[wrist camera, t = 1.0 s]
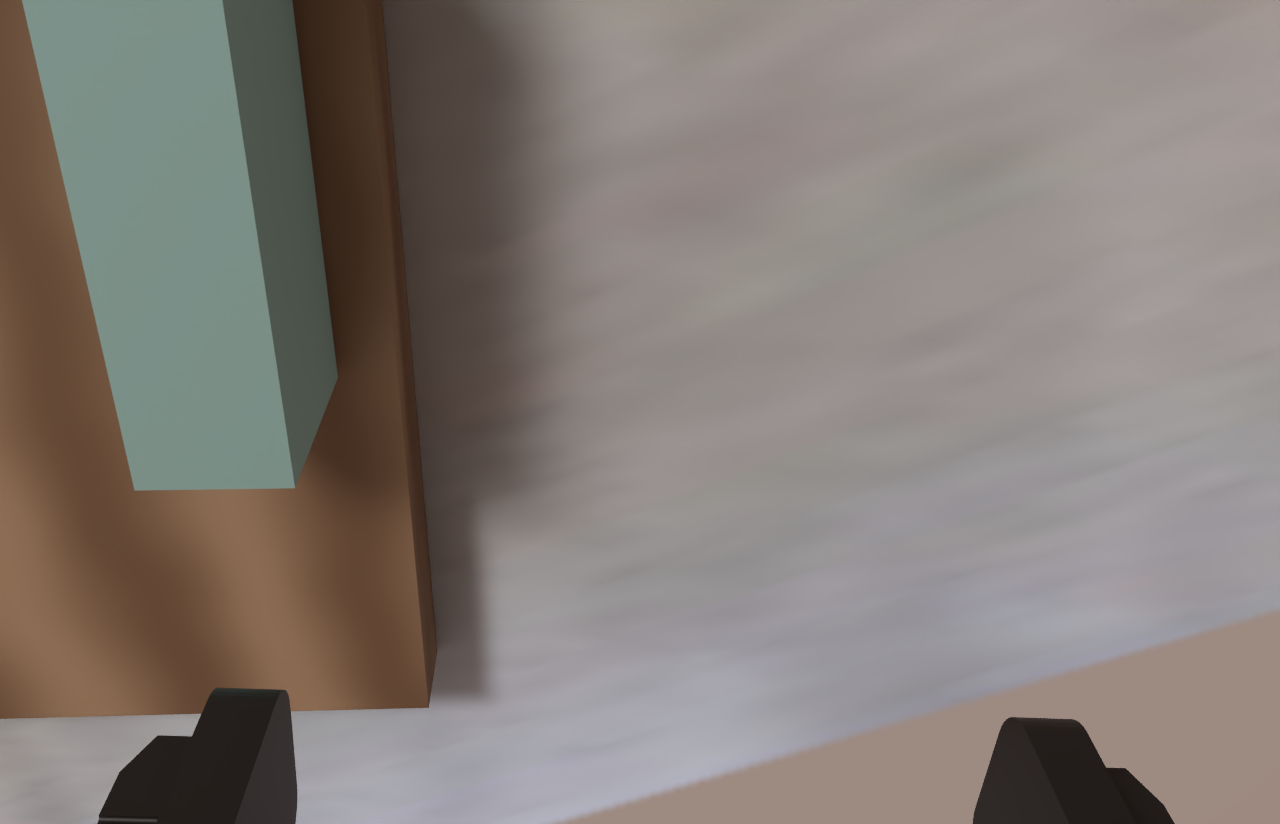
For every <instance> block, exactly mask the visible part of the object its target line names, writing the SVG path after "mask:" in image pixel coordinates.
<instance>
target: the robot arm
mask: <svg viewBox="0 0 1280 824" xmlns="http://www.w3.org/2000/svg"><path fill="white" fill-rule="evenodd" d="M296 811H297V781H296V769H295V757H294V745H293V733H292V721H291V709H290V700H289V695H288V693H287V691H286V690H276V689H248V688H219V687H217V688H215V689H214V690H213V691H212V693H211V694H210V696H209V698H208V700H207V702H206V705H205V707H204V709H203V712H202V714H201V717H200V719H199V721H198V724H197V726H196V728H195V731H194V733H193V736H192V737H188V736H157V737H156V738H155V739H154V740H153V741H152V742H151V743H149V744H148V745H147V746H146V747H145V748H144V749H143V750H142V751H141V752H140V753H139V754H138V755H137V756H136V757H135V758H134V759H133V760H132V761H131V762H130V763H129V764H128V765H127V766H126V767H125V768H123V769H122V770H121V771H120V772H119V775H118V777H117V779H116V781H115V783H114V785H113V787H112V789H111V791H110V793H109V795H108V798H107V800H106V802H105V804H104V806H103V808H102V810H101V812H100V814H99V821H98V824H295V821H296ZM973 824H1174V822H1173V820H1172V819H1171V817H1170V815H1169V813H1168V812H1167V810H1166V808H1165V806H1164V805H1163V804H1162V803H1161V802H1160V801H1159V800H1158V799H1157V798H1156V797H1155V796H1154V795H1153V794H1152V793H1151V792H1149V790H1147V789H1146V788H1145V787H1144V786H1143V785H1142V784H1141V783H1140V782H1139V781H1138V780H1137V779H1136V778H1135V777H1134V776H1133V775H1132V774H1131V773H1130V772H1129V771H1128V770H1126V769H1125V768H1106V767H1105V765H1104V763H1103V761H1102V759H1101V758H1100V756H1099V754H1098V752H1097V750H1096V748H1095V746H1094V744H1093V743H1092V741H1091V739H1090V737H1089V735H1088V733H1087V732H1086V730H1085V729H1084V727H1083V726H1082V725H1081V724H1080V723H1079V722H1078V721H1076V720H1072V719H1047V718H1046V719H1045V718H1018V717H1017V718H1016V717H1010V718H1008V719H1007V720H1006V721H1005V722H1004V723H1003V725H1002V727H1001V730H1000V732H999V735H998V739H997V742H996V745H995V748H994V751H993V754H992V757H991V761H990V764H989V767H988V770H987V773H986V776H985V779H984V783H983V786H982V789H981V792H980V795H979V798H978V802H977V805H976V808H975V812H974V818H973Z"/></svg>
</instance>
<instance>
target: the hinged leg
mask: <svg viewBox="0 0 1280 824" xmlns="http://www.w3.org/2000/svg"><path fill="white" fill-rule="evenodd" d="M22 3H23V7H24V11H25V16H26V20H27V24H28V29H29V33H30V37H31V42H32V46H33V50H34V55H35V59H36V64H37V68H38V72H39V77H40V81H41V85H42V90H43V94H44V98H45V103H46V107H47V111H48V116H49V120H50V124H51V129H52V133H53V138H54V142H55V146H56V151H57V155H58V159H59V164H60V168H61V172H62V177H63V181H64V185H65V190H66V194H67V198H68V203H69V207H70V212H71V216H72V220H73V225H74V229H75V233H76V238H77V242H78V246H79V251H80V255H81V259H82V264H83V268H84V273H85V277H86V281H87V286H88V290H89V294H90V299H91V303H92V307H93V312H94V316H95V320H96V325H97V329H98V333H99V338H100V342H101V347H102V351H103V355H104V360H105V364H106V368H107V373H108V377H109V381H110V386H111V390H112V394H113V399H114V403H115V407H116V412H117V416H118V421H119V425H120V429H121V434H122V438H123V442H124V447H125V451H126V455H127V460H128V464H129V468H130V473H131V477H132V481H133V486H134V490H135V491H138V490H208V489H279V488H295V487H296V484H297V482H298V479H299V477H300V474H301V472H302V469H303V466H304V464H305V461H306V459H307V456H308V453H309V451H310V448H311V446H312V443H313V441H314V438H315V435H316V433H317V430H318V428H319V425H320V423H321V420H322V417H323V415H324V412H325V410H326V407H327V405H328V402H329V399H330V397H331V394H332V392H333V389H334V386H335V384H336V381H337V379H338V374H337V366H336V358H335V349H334V341H333V333H332V325H331V316H330V308H329V300H328V291H327V283H326V275H325V267H324V258H323V250H322V242H321V233H320V225H319V217H318V209H317V200H316V192H315V184H314V175H313V167H312V159H311V151H310V142H309V134H308V126H307V117H306V109H305V101H304V93H303V84H302V76H301V68H300V59H299V51H298V43H297V35H296V26H295V18H294V10H293V1H292V0H22Z"/></svg>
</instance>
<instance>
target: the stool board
mask: <svg viewBox="0 0 1280 824" xmlns="http://www.w3.org/2000/svg"><path fill="white" fill-rule="evenodd" d="M292 1H293V10H294V18H295V26H296V35H297V43H298V51H299V59H300V68H301V76H302V84H303V93H304V101H305V109H306V117H307V126H308V134H309V142H310V151H311V159H312V167H313V175H314V184H315V192H316V200H317V209H318V217H319V225H320V233H321V242H322V250H323V258H324V267H325V275H326V283H327V291H328V300H329V308H330V316H331V325H332V333H333V341H334V349H335V358H336V366H337V374H338V379H337V381H336V384H335V386H334V389H333V392H332V394H331V397H330V399H329V402H328V405H327V407H326V410H325V412H324V415H323V417H322V420H321V423H320V425H319V428H318V430H317V433H316V435H315V438H314V441H313V443H312V446H311V448H310V451H309V453H308V456H307V459H306V461H305V464H304V466H303V469H302V472H301V474H300V477H299V479H298V482H297V484H296V487H295V488H279V489H208V490H138V491H135V490H134V486H133V481H132V477H131V473H130V468H129V464H128V460H127V455H126V451H125V447H124V442H123V438H122V434H121V429H120V425H119V421H118V416H117V412H116V407H115V403H114V399H113V394H112V390H111V386H110V381H109V377H108V373H107V368H106V364H105V360H104V355H103V351H102V347H101V342H100V338H99V333H98V329H97V325H96V320H95V316H94V312H93V307H92V303H91V299H90V294H89V290H88V286H87V281H86V277H85V273H84V268H83V264H82V259H81V255H80V251H79V246H78V242H77V238H76V233H75V229H74V225H73V220H72V216H71V212H70V207H69V203H68V198H67V194H66V190H65V185H64V181H63V177H62V172H61V168H60V164H59V159H58V155H57V151H56V146H55V142H54V138H53V133H52V129H51V124H50V120H49V116H48V111H47V107H46V103H45V98H44V94H43V90H42V85H41V81H40V77H39V72H38V68H37V64H36V59H35V55H34V50H33V46H32V42H31V37H30V33H29V29H28V24H27V20H26V16H25V11H24V7H23V3H22V0H0V719H8V718H46V717H85V716H123V715H161V714H200V713H202V712H203V709H204V707H205V705H206V702H207V700H208V698H209V696H210V694H211V693H212V691H213V690H214V689H215V688H217V687H219V688H248V689H276V690H286V691H287V693H288V695H289V700H290V709H291V711H314V710H353V709H391V708H429V702H430V695H431V688H432V681H433V675H434V668H435V661H436V654H437V645H436V633H435V621H434V609H433V597H432V586H431V574H430V562H429V550H428V538H427V526H426V515H425V503H424V491H423V479H422V467H421V456H420V444H419V432H418V420H417V408H416V396H415V385H414V373H413V361H412V349H411V337H410V326H409V314H408V302H407V290H406V278H405V266H404V255H403V243H402V231H401V219H400V207H399V196H398V184H397V172H396V160H395V148H394V136H393V125H392V113H391V101H390V89H389V77H388V66H387V54H386V42H385V30H384V18H383V6H382V0H292Z"/></svg>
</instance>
